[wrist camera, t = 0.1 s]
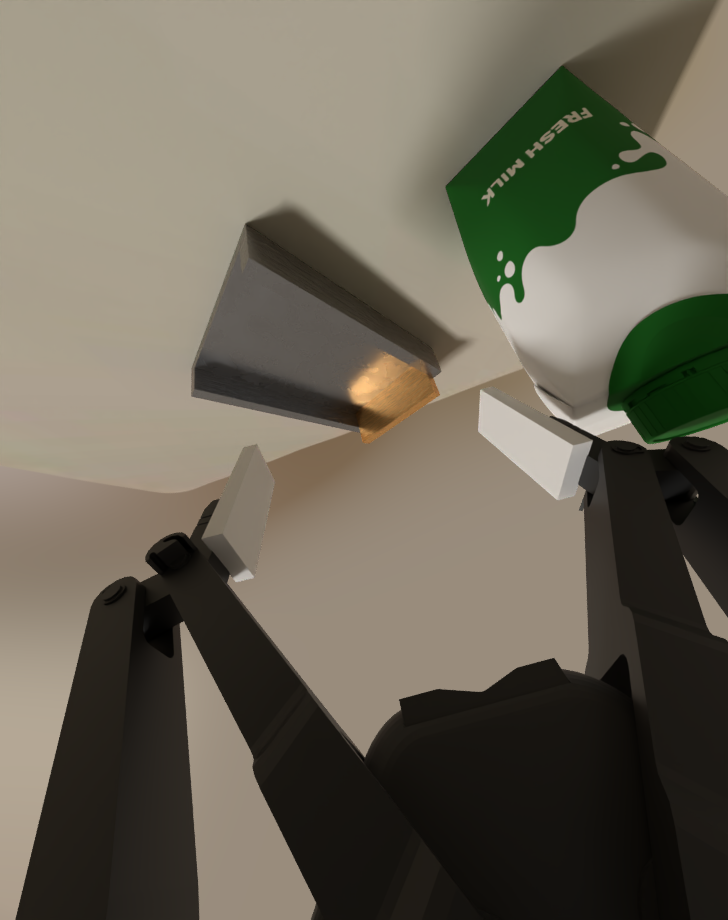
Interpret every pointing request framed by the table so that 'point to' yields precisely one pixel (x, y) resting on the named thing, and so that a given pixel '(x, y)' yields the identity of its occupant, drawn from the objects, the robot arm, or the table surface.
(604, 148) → the soya milk
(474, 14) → the table surface
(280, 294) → the rail channel
